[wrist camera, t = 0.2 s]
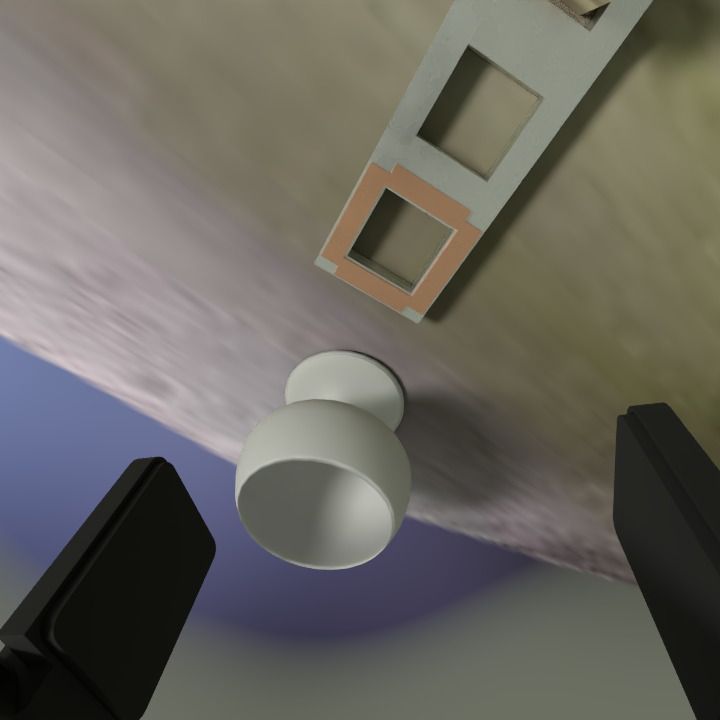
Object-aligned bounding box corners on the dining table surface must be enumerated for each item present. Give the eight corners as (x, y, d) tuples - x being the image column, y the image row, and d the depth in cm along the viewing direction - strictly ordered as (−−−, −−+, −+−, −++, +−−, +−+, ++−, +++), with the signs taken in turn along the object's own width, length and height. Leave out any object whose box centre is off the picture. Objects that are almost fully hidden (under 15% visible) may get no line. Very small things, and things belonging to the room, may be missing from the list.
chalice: (295, 318, 43) (239, 418, 30) (436, 368, 44) (442, 486, 31) (263, 428, 50) (207, 547, 37) (385, 469, 51) (372, 598, 38)
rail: (571, -215, 25) (583, -242, 23) (711, -96, 26) (734, -110, 24) (318, 255, 39) (313, 265, 37) (418, 314, 41) (418, 325, 39)
